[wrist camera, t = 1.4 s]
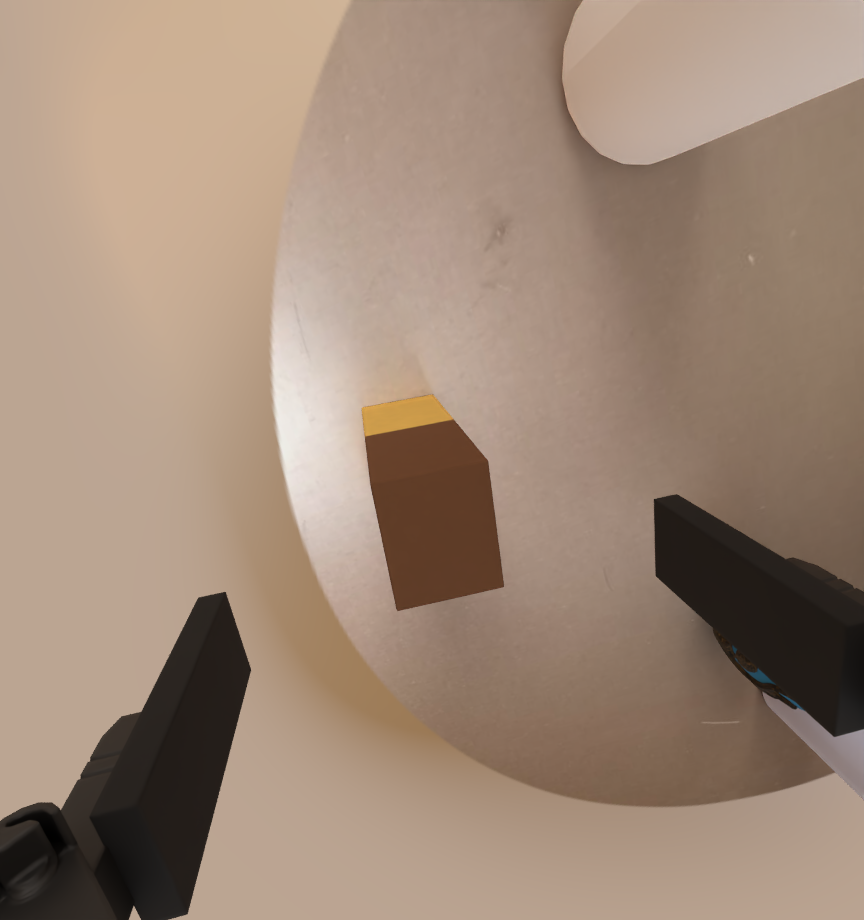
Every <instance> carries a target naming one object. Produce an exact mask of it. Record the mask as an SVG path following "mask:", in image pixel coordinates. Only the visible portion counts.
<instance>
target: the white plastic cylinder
mask: <svg viewBox="0 0 864 920" xmlns="http://www.w3.org/2000/svg"><path fill="white" fill-rule="evenodd" d="M862 78H864V0H583V1H582V3H581V4H580V6H579V7H578V9H577V10H576V12H575V14H574V17H573V20H572V24H571V27H570V30H569V33H568V36H567V39H566V42H565V45H564V55H563V71H562V82H563V87H564V92H565V97H566V102H567V107H568V111H569V113H570V115H571V117H572V119H573V121H574V123H575V125H576V126H577V128H578V130H579V132H580V134H581V136H582V137H583V138H584V139H585V140H586V141H587V142H588V143H589V144H590V145H591V146H592V147H593V148H594V149H595V150H596V151H597V152H598V153H599V154H601V155H603V156H605V157H608V158H610V159H612V160H614V161H617V162H619V163H621V164H637V165H650V164H653V163H656V162H659V161H662V160H665V159H668V158H671V157H673V156H676V155H678V154H681V153H683V152H685V151H688V150H690V149H693V148H695V147H698V146H700V145H702V144H705V143H707V142H710V141H712V140H714V139H717V138H719V137H722V136H724V135H727V134H729V133H731V132H734V131H736V130H739V129H741V128H743V127H746V126H748V125H751V124H753V123H755V122H758V121H760V120H763V119H765V118H768V117H770V116H772V115H775V114H777V113H780V112H782V111H784V110H787V109H789V108H792V107H794V106H797V105H799V104H801V103H804V102H806V101H809V100H811V99H813V98H816V97H818V96H821V95H823V94H825V93H828V92H830V91H833V90H835V89H838V88H840V87H842V86H845V85H847V84H850V83H852V82H854V81H857V80H859V79H862Z"/></svg>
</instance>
